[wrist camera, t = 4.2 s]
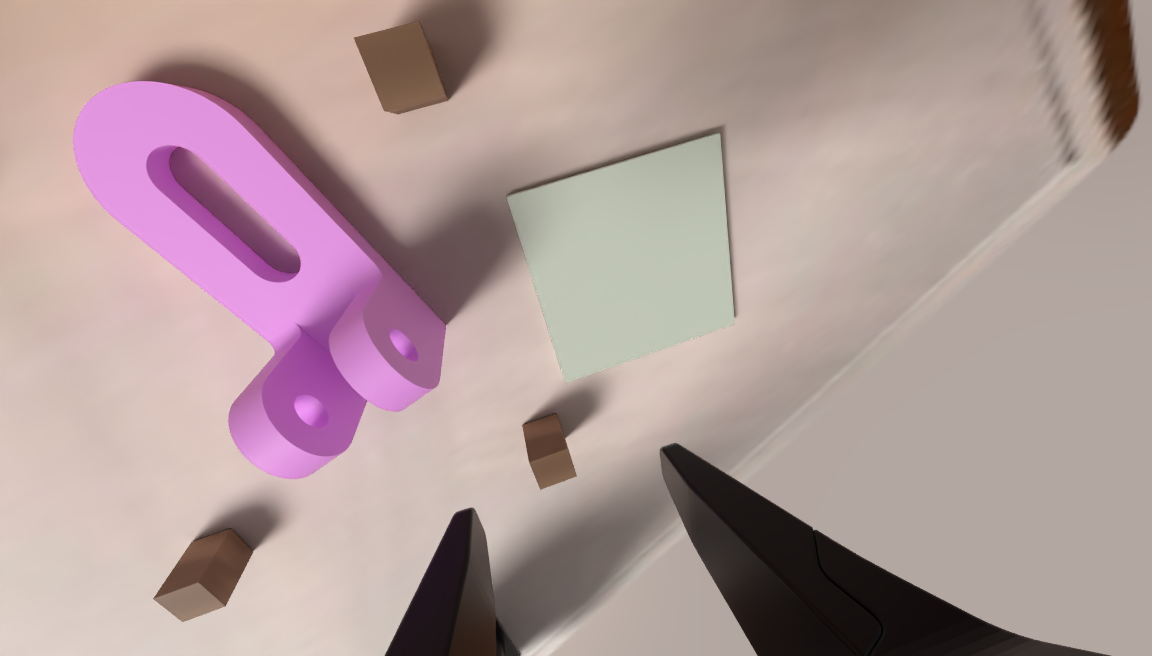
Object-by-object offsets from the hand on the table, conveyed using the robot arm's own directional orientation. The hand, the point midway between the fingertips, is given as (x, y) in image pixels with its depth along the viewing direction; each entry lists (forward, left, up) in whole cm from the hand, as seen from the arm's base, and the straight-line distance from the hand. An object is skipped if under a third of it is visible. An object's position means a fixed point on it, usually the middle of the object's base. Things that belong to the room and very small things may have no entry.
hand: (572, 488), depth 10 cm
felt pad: (0, -6, -12) cm, 14 cm away
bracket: (+5, +8, -13) cm, 16 cm away
